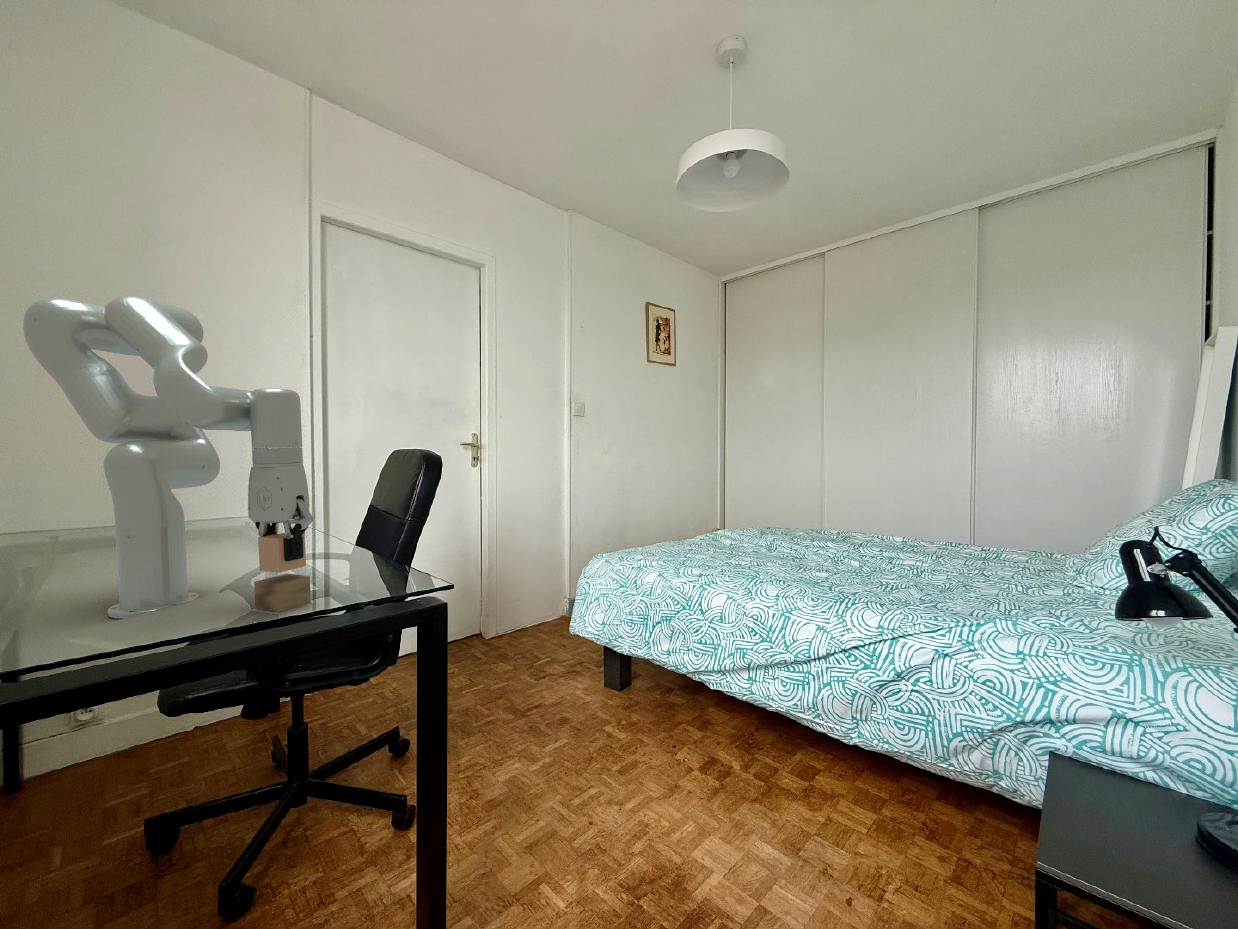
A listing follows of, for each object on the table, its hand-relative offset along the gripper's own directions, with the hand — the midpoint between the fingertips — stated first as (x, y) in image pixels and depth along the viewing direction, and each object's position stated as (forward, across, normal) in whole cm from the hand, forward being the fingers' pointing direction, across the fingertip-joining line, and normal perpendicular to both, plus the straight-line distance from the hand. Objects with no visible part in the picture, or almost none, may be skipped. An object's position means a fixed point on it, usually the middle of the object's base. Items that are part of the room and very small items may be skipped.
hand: (282, 557), depth 91 cm
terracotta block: (+2, 0, 0) cm, 2 cm away
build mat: (+10, 0, 0) cm, 10 cm away
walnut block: (+9, 0, 0) cm, 9 cm away
